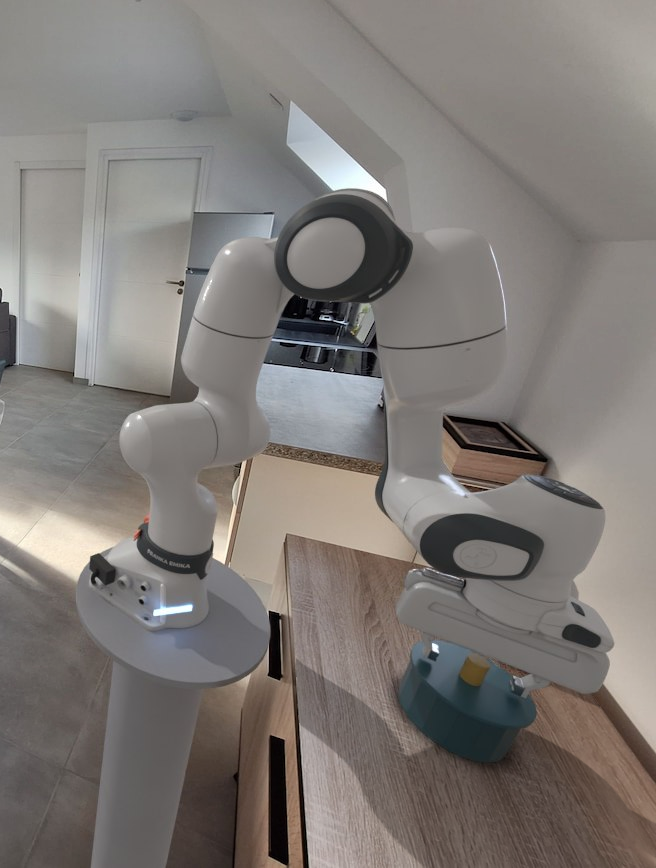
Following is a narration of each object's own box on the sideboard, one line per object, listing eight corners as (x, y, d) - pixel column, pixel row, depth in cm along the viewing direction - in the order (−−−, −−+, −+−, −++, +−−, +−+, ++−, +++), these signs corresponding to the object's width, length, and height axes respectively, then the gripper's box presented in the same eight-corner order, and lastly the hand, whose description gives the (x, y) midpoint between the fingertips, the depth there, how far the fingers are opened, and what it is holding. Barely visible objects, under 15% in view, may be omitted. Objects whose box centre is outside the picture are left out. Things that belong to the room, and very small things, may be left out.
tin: (398, 726, 65) (415, 688, 62) (397, 666, 74) (412, 631, 72) (515, 783, 58) (539, 744, 56) (498, 709, 68) (518, 673, 65)
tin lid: (409, 693, 62) (420, 668, 60) (407, 631, 72) (417, 608, 71) (544, 755, 55) (561, 728, 53) (521, 676, 65) (535, 652, 64)
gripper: (411, 574, 61) (381, 650, 66) (636, 651, 51) (580, 735, 55) (410, 551, 66) (382, 624, 71) (615, 616, 55) (565, 696, 60)
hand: (470, 673), depth 63 cm, fingers open, 8 cm apart
